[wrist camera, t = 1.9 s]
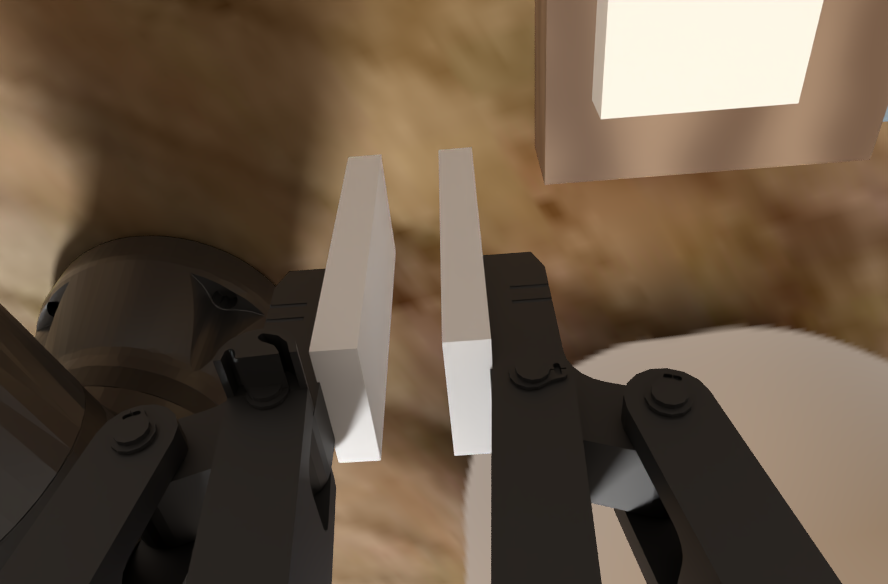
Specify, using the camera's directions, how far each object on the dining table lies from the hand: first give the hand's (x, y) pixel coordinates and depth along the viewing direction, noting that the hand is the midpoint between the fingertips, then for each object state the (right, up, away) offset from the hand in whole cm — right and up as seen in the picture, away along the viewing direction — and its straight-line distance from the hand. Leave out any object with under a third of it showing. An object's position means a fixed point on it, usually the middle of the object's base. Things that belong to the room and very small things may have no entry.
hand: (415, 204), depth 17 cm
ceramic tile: (+11, +10, +11) cm, 18 cm away
